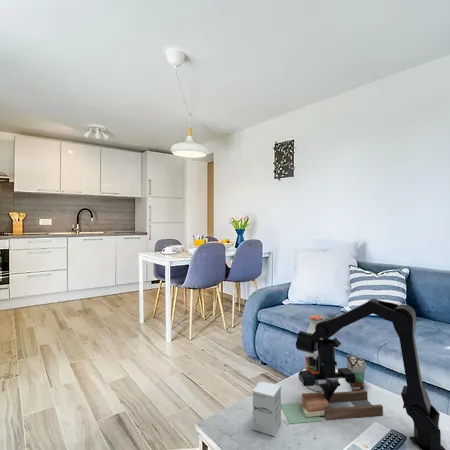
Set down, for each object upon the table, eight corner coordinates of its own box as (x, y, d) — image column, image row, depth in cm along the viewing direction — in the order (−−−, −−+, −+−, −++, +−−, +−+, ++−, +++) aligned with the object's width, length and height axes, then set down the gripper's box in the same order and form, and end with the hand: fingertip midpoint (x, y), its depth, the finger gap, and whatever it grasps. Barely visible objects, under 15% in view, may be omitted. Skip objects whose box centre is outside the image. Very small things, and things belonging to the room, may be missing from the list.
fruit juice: (326, 380, 126) (325, 313, 127) (332, 392, 117) (331, 319, 117) (303, 379, 127) (302, 312, 128) (308, 391, 118) (306, 319, 118)
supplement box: (252, 430, 96) (251, 390, 96) (260, 417, 103) (260, 379, 103) (274, 437, 93) (273, 396, 93) (282, 423, 99) (281, 384, 99)
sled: (328, 415, 102) (328, 402, 102) (306, 417, 102) (305, 404, 102) (320, 403, 109) (320, 391, 109) (298, 404, 109) (298, 393, 109)
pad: (322, 421, 100) (322, 420, 100) (289, 423, 99) (289, 423, 99) (309, 402, 111) (309, 401, 111) (280, 404, 110) (280, 403, 110)
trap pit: (379, 412, 104) (379, 412, 104) (361, 414, 103) (361, 413, 103) (367, 400, 111) (367, 400, 111) (350, 401, 111) (350, 401, 111)
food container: (370, 394, 115) (370, 368, 115) (353, 393, 116) (352, 367, 116) (362, 378, 127) (362, 354, 127) (347, 377, 128) (346, 353, 128)
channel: (383, 415, 102) (382, 406, 102) (326, 420, 100) (325, 411, 101) (365, 398, 113) (365, 390, 113) (313, 402, 111) (313, 394, 111)
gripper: (341, 345, 115) (342, 387, 115) (293, 348, 113) (294, 390, 113) (356, 358, 104) (357, 404, 104) (303, 361, 102) (304, 408, 102)
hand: (327, 401), depth 106 cm, fingers closed
